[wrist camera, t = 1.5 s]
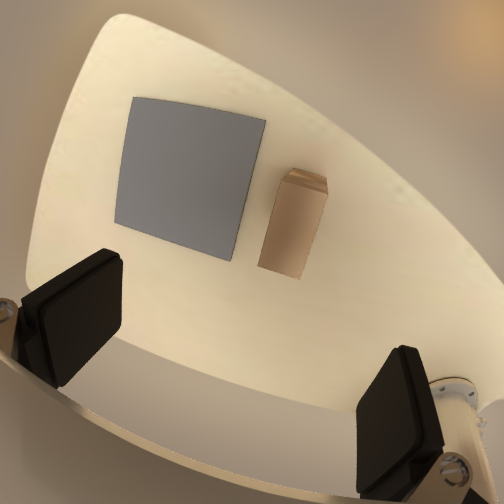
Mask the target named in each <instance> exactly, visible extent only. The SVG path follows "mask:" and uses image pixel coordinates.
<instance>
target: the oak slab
mask: <svg viewBox="0 0 504 504" xmlns="http://www.w3.org/2000/svg"><path fill="white" fill-rule="evenodd" d="M327 197H328V189H327V180H326V178H325V177H322V176H319V175H315V174H312V173H309V172H306V171H302V170H299V169H296V168H293V169H292V170H291V171H290V172H289V173H288V174H287V175H286V176H285V177H284V178H283V179H282V180H281V183H280V187H279V190H278V193H277V197H276V200H275V204H274V208H273V211H272V215H271V218H270V222H269V225H268V229H267V232H266V236H265V240H264V243H263V247H262V250H261V255H260V258H259V262H258V265H257V266H259V267H262V268H265V269H268V270H271V271H274V272H277V273H280V274H284V275H287V276H290V277H293V278H296V279H299V280H300V277H301V275H302V272H303V269H304V266H305V263H306V260H307V257H308V255H309V252H310V249H311V246H312V243H313V240H314V237H315V234H316V231H317V228H318V225H319V222H320V219H321V216H322V212H323V209H324V206H325V203H326V200H327Z"/></svg>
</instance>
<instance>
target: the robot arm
mask: <svg viewBox="0 0 504 504" xmlns="http://www.w3.org/2000/svg"><path fill="white" fill-rule="evenodd" d="M122 274H123V261H122V259H120V255H119V254H118V253H116V252H114V251H111V250H108V249H106V248H103V249H101V250H99V251H97V252H96V253H94V254H92V255H91V256H89V257H87V258H86V259H84V260H82V261H81V262H79V263H77V264H76V265H74V266H72V267H71V268H69V269H67V270H66V271H64V272H62V273H61V274H59V275H58V276H56V277H54V278H53V279H51V280H50V281H48V282H46V283H45V284H43V285H42V286H40V287H39V288H37V289H36V290H34V291H32V292H31V293H29V294H28V295H26V296H25V297H23V298H22V299H21V302H22V306H21V307H20V308H18V306H17V304H16V303H15V302H14V301H12V300H10V299H7V298H0V504H499V502H498V498H497V493H496V489H495V485H494V481H493V477H492V473H491V469H490V465H489V462H488V458H487V455H486V451H485V448H484V445H483V441H482V438H481V437H482V434H483V430H482V428H478V427H484V426H486V424H487V419H486V418H478V417H477V414H476V412H475V408H476V406H477V402H478V394H477V391H476V389H475V387H474V385H473V384H472V383H471V382H469V381H467V380H465V379H460V378H450V379H444V380H440V381H436V382H433V383H431V384H429V383H428V379H427V376H426V373H425V370H424V367H423V364H422V361H421V358H420V355H419V352H418V350H417V349H416V348H413V347H409V346H405V345H400V346H399V347H398V348H394V349H393V350H392V351H391V353H390V355H389V356H388V358H387V360H386V361H385V363H384V365H383V366H382V368H381V369H380V371H379V372H378V374H377V376H376V377H375V379H374V380H373V382H372V383H371V385H370V386H369V388H368V389H367V391H366V392H365V394H364V395H363V397H362V398H361V400H360V401H359V403H358V405H357V409H356V418H357V419H356V420H357V480H356V491H357V493H360V499H357V498H349V497H342V496H335V495H328V494H321V493H315V492H309V491H304V490H299V489H294V488H289V487H284V486H280V485H276V484H272V483H267V482H263V481H259V480H256V479H252V478H248V477H245V476H242V475H238V474H235V473H232V472H228V471H225V470H222V469H219V468H216V467H213V466H210V465H207V464H204V463H201V462H199V461H196V460H194V459H191V458H188V457H186V456H183V455H180V454H178V453H176V452H173V451H171V450H168V449H166V448H164V447H161V446H159V445H157V444H154V443H152V442H150V441H148V440H146V439H144V438H141V437H139V436H137V435H135V434H133V433H131V432H129V431H127V430H125V429H123V428H121V427H119V426H117V425H115V424H113V423H111V422H110V421H108V420H106V419H104V418H102V417H100V416H99V415H97V414H95V413H93V412H92V411H89V410H88V409H86V408H85V407H83V406H81V405H80V404H78V403H76V402H75V401H73V400H71V399H70V398H68V397H67V396H65V395H64V394H62V393H60V392H59V391H58V390H57V389H58V387H59V386H60V387H63V386H65V385H66V384H67V383H68V382H69V381H70V380H71V379H72V378H73V376H74V375H75V374H76V373H77V372H78V371H79V370H80V369H81V368H82V367H83V366H84V365H85V364H86V363H87V362H88V361H89V360H90V359H91V358H92V357H93V356H94V355H95V354H96V352H98V350H100V348H101V347H102V346H103V345H104V344H105V343H106V342H107V341H108V340H109V339H110V338H111V337H112V336H113V335H114V334H115V333H116V332H117V331H118V330H119V328H120V326H121V321H122Z"/></svg>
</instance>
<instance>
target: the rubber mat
mask: <svg viewBox="0 0 504 504" xmlns="http://www.w3.org/2000/svg"><path fill="white" fill-rule="evenodd" d="M265 123H266V120H261V119H257V118H253V117H249V116H244V115H240V114H235V113H231V112H226V111H221V110H216V109H211V108H205V107H200V106H194V105H188V104H182V103H176V102H169V101H162V100H154V99H147V98H138V97H133V99H132V104H131V109H130V114H129V119H128V124H127V129H126V135H125V141H124V147H123V153H122V160H121V166H120V174H119V181H118V190H117V199H116V208H115V219H114V223H117V224H120V225H123V226H125V227H128V228H131V229H134V230H137V231H140V232H143V233H146V234H149V235H152V236H155V237H158V238H160V239H163V240H166V241H169V242H172V243H175V244H178V245H181V246H184V247H187V248H190V249H193V250H196V251H199V252H202V253H205V254H208V255H211V256H214V257H217V258H220V259H223V260H226V261H229V262H230V261H231V258H232V254H233V249H234V245H235V241H236V237H237V233H238V229H239V225H240V221H241V217H242V213H243V209H244V205H245V201H246V197H247V193H248V189H249V185H250V181H251V177H252V173H253V169H254V166H255V162H256V158H257V154H258V150H259V146H260V142H261V138H262V135H263V131H264V127H265Z"/></svg>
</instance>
